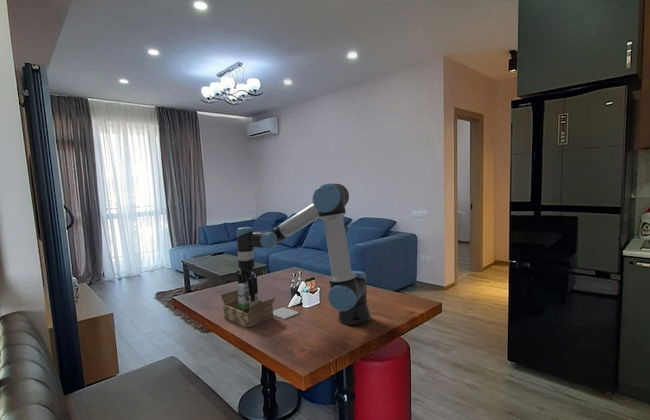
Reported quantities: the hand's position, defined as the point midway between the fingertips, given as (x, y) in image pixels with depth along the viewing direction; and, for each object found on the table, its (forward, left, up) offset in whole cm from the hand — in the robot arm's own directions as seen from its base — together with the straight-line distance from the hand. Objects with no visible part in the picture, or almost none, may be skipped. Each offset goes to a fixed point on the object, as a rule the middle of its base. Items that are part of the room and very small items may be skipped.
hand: (248, 306), depth 166 cm
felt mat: (-10, -14, -6) cm, 18 cm away
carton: (0, 0, -6) cm, 6 cm away
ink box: (0, 0, -1) cm, 1 cm away
